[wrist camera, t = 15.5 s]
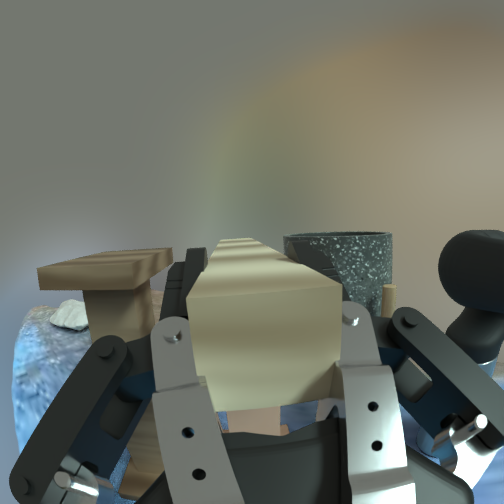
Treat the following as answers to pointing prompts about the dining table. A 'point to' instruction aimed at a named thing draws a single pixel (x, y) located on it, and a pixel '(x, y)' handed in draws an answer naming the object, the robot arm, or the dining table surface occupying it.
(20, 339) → the dining table surface
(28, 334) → the dining table surface
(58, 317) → the crumpled cloth
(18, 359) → the dining table surface
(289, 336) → the beech bar
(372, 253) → the planter
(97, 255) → the walnut base stand
